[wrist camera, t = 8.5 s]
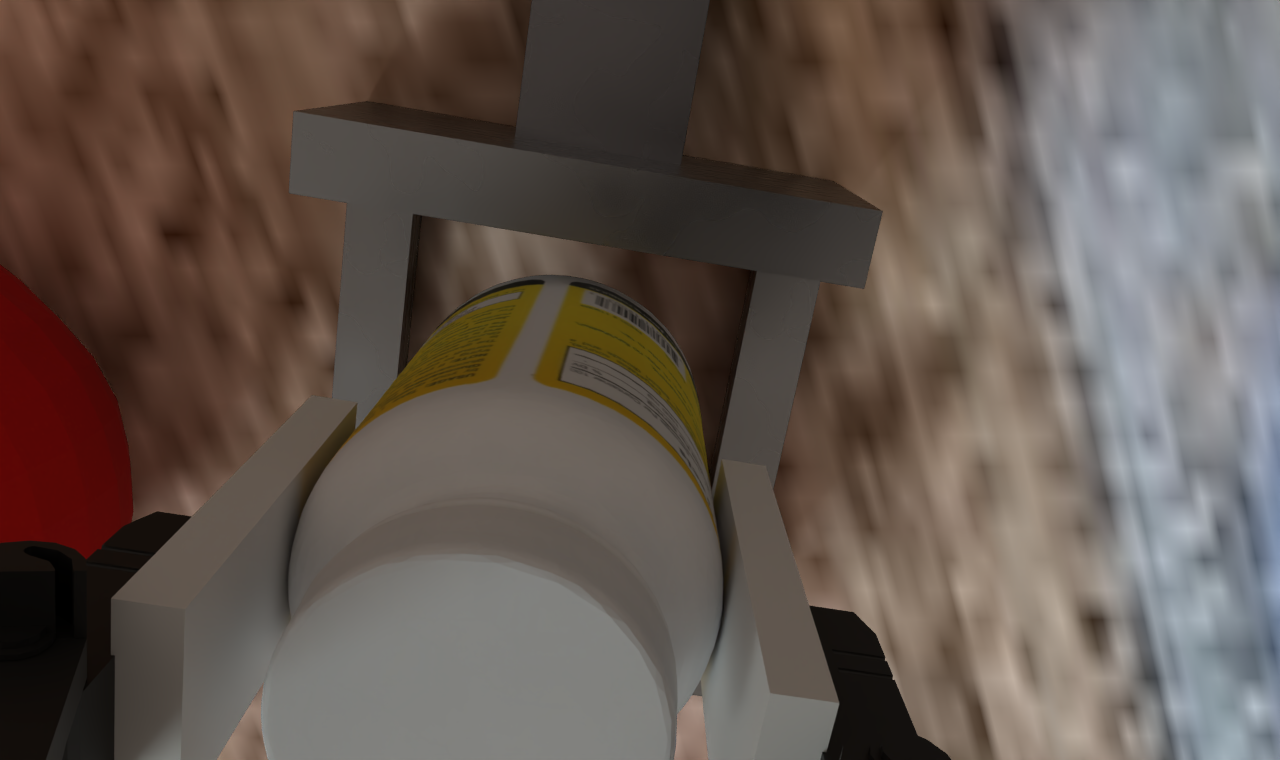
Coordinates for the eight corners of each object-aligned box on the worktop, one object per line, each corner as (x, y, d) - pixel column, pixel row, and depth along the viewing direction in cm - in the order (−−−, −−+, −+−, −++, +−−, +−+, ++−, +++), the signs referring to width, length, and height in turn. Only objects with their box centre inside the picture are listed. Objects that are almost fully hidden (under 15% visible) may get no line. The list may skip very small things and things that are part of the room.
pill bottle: (416, 530, 22) (203, 941, 12) (414, 260, 21) (158, 463, 10) (690, 546, 22) (718, 971, 12) (712, 278, 21) (770, 502, 10)
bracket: (409, -442, 20) (334, -604, 15) (949, -335, 20) (1044, -459, 15) (332, 528, 26) (263, 632, 21) (742, 590, 27) (763, 705, 22)
